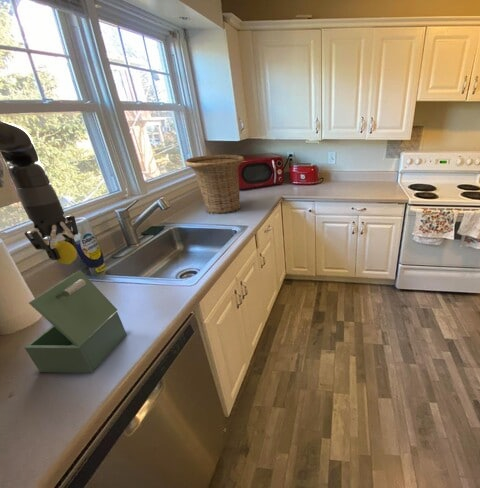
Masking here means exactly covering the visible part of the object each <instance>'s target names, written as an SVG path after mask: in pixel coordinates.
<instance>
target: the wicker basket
mask: <svg viewBox="0 0 480 488" xmlns="http://www.w3.org/2000/svg"><path fill="white" fill-rule="evenodd" d="M244 162H245V159H244V156H242V155H238V154H210V155H200V156H194V157H190V158H187V159H185V160H184V164H185V166H186V167H189V168H191V169H192V170H193V171H194V174H195V177H196V181H197V183H198V186H199V190H200V193H201V196H202V200H203V202H204V203H203V204H204V206H205V209H206V211H207V213H208V214H212V215H213V214H215V215H219V214H221V215H224V214H225V213H226V214H230V213H234V212H236V211H237V212H238V210H240V208H241V199H240V198H241V197H240V178H239V167H240V165H241V164H243V163H244Z"/></svg>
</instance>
